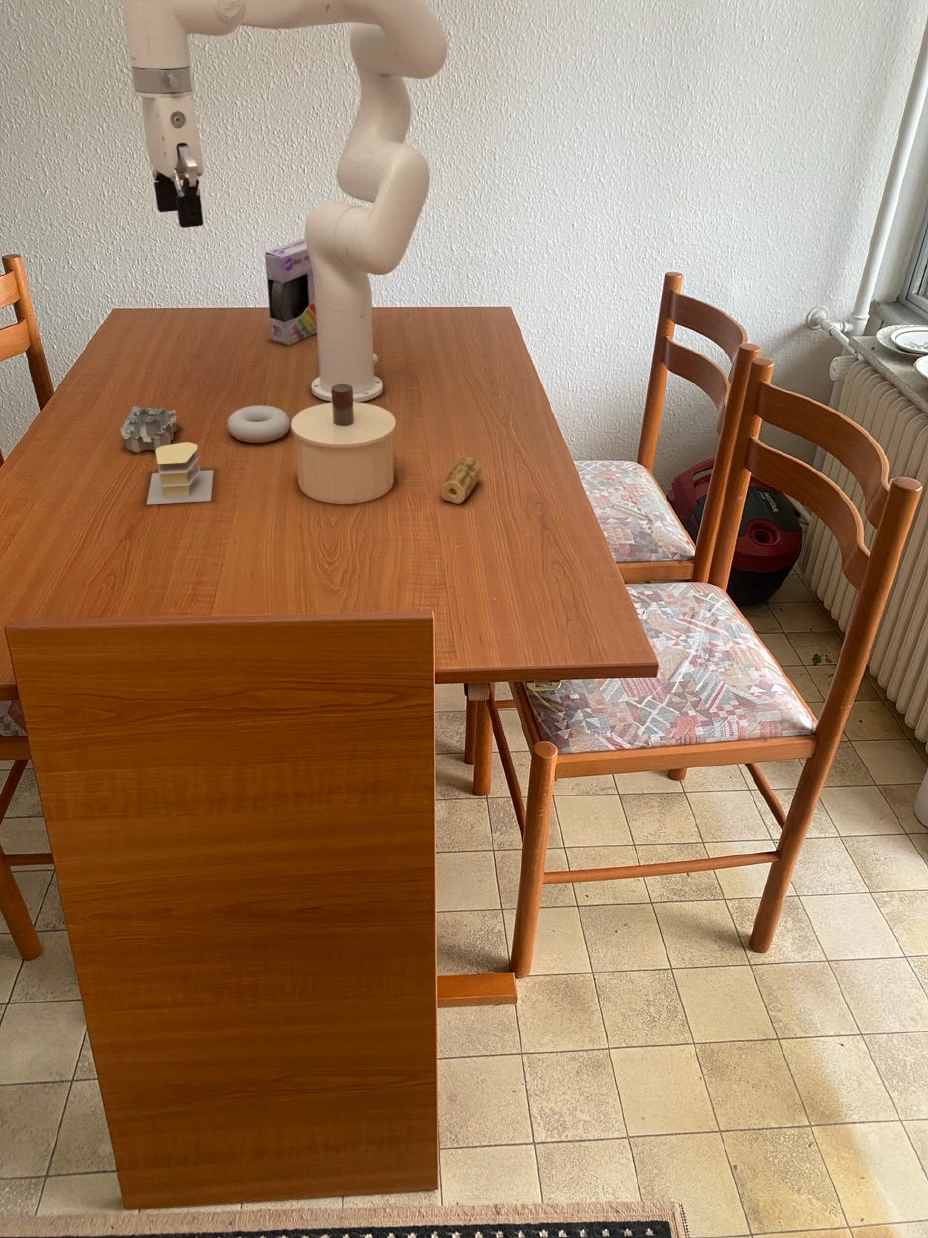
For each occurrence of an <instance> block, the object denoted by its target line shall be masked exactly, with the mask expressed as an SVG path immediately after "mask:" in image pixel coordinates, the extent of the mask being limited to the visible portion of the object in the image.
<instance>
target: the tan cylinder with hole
mask: <svg viewBox="0 0 928 1238" xmlns="http://www.w3.org/2000/svg"><path fill="white" fill-rule="evenodd" d="M481 473H482V467H481V464H480V463H479V462H478V461H477V460H476V459H474V458H473V457H470V456H464V457H461V458H459V459H458V460H457V461H456V462H455V463H454V464H453V465H452V467H451V469H449V471H448V473H447V475H446V476H445V478H444V479H443V481H442V482H441V486H440V495H441V497H442V499H443V500H444V501H445V502H451V503H452V504H457V505H460V504H461V503H463V502H464V501H465V500H466V499H467V498H468V497H469V495H470V494H471V492H472V491H473V489H474V488H475V486H476V484H477V483H478V481H479V479H480V477H481Z"/></svg>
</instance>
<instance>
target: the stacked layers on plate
mask: <svg viewBox="0 0 928 1238" xmlns="http://www.w3.org/2000/svg"><path fill="white" fill-rule="evenodd" d="M197 450H198V444H197V443H193V442H190V441H185V442H180V443H179V442H178V443H173V444H172V443H171V445H166V446H161V447H159V448H157V449H156V450H154V452H155V456H156V464H157V469H158V472H154V473H153V472H152V473H151V478H150V484H149V489H148V494H147V500H146V505H162V504H164V505H166V504H183V503H203V502H211V501H212V494H213V493H212V491H213V479H214V469H211V470H201V465H200V464H198V460H199V458H200V453H199V452H196V451H197Z"/></svg>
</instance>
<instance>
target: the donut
mask: <svg viewBox="0 0 928 1238" xmlns="http://www.w3.org/2000/svg"><path fill="white" fill-rule="evenodd" d="M226 427H227V429H228V433H229V434H230V435H231V436H232V437H233V438H235V439H236V440H237V441H241V442H244V443H250V444H261V443H262V444H263V443H270V442H273V441H277V440H278V439H281V438H282V437H284V436H285V435H286V434H287V433H288V431H289V429H290V427H291V421H290V418H289V416H288V414H287V413H286V412H285V411H284V410H282V409H280V408H278V407H275V406H269V405H259V404H258V405H250V406H246V407H242V408H240V409H236V410H235V411H234V412H233V413H232V414H230V416H229V418H228V419H227V422H226Z"/></svg>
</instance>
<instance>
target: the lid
mask: <svg viewBox="0 0 928 1238" xmlns="http://www.w3.org/2000/svg"><path fill="white" fill-rule="evenodd" d="M331 390H332V402H327V403H326V402H325V403H321V404H317V405H312V406H309V407H307V408H304V409H303V410H301V411H299V412H298V413H297V414H295V415H294V417H292V420H291V421H290V429H291V432H292V433H293V435H294V437H295V436H296V437H298V438H299V439H301V440H303V441H305V442H307V443H310V444H314V445H318V446H323V447H333V448H350V447H359V446H365V445H370V444H373V443H376V442H379V441H381V440H383V439H385V438H387V437H388V436H390V435H391V434H392V433H393V434H394V432H395V430H396V427H397V426H396V425H397V422H396V418H395V416H394V415H393V414H392V413H391V412H390V411H388V410H387V409H385V408H383V407H380V406H379V405H378V406H377V405H374V404H370V403H365V402H353V387H352V386H351V385H348V384H337V385H334V386H332V388H331Z"/></svg>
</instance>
